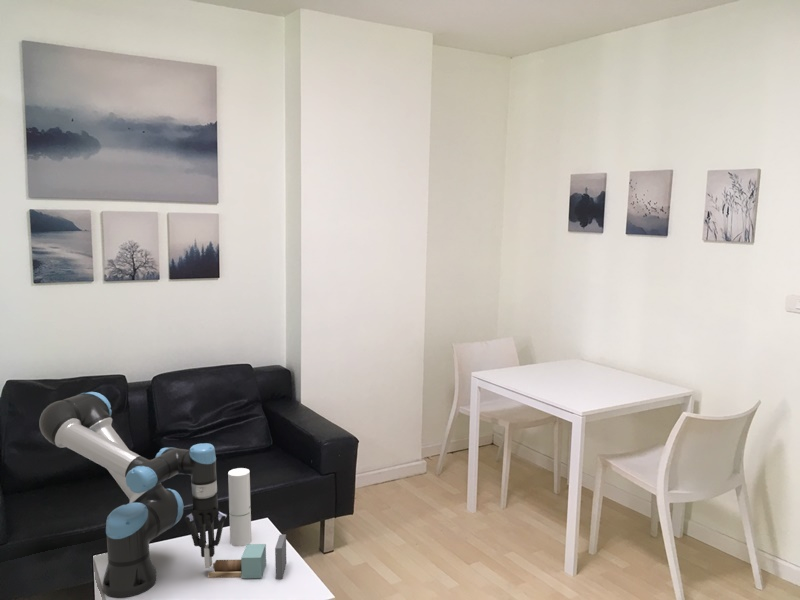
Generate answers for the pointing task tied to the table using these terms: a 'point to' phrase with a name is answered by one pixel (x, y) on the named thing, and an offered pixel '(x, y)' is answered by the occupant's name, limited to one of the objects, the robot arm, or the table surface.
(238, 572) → the rails
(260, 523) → the table surface
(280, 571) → the wall
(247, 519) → the cylindrical container
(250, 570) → the block
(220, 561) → the dowel
